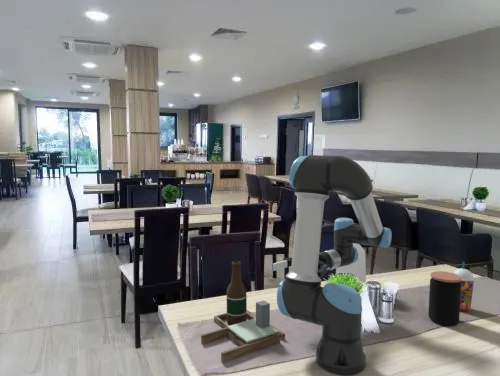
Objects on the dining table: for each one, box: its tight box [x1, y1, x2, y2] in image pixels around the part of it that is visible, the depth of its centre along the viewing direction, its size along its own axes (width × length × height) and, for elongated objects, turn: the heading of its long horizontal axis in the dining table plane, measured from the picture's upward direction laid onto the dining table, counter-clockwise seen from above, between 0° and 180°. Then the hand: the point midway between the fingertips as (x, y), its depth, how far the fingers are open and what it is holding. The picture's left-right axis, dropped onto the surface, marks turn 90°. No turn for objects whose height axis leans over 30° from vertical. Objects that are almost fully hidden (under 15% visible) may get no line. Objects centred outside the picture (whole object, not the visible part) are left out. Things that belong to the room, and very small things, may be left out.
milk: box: [335, 243, 367, 283], centre depth 178 cm, size 12×12×26 cm
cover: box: [227, 300, 278, 344], centre depth 132 cm, size 13×13×9 cm
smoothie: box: [453, 261, 475, 312], centre depth 158 cm, size 8×8×20 cm
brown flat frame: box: [200, 309, 286, 364], centre depth 136 cm, size 27×26×3 cm
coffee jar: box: [427, 270, 461, 327], centre depth 147 cm, size 11×11×18 cm
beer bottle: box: [226, 260, 248, 326], centre depth 144 cm, size 8×8×24 cm
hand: (284, 272), depth 139 cm, fingers open, 13 cm apart
